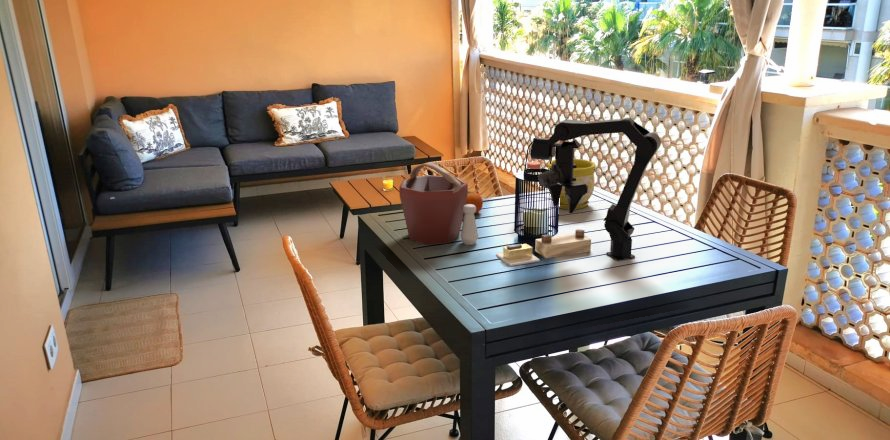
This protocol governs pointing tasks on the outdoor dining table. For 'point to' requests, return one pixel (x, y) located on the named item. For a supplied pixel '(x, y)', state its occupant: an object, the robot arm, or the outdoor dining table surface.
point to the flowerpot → (582, 174)
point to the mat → (518, 260)
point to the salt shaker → (469, 225)
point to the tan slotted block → (517, 251)
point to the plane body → (563, 244)
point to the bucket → (433, 205)
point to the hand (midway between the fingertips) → (563, 209)
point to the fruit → (474, 200)
